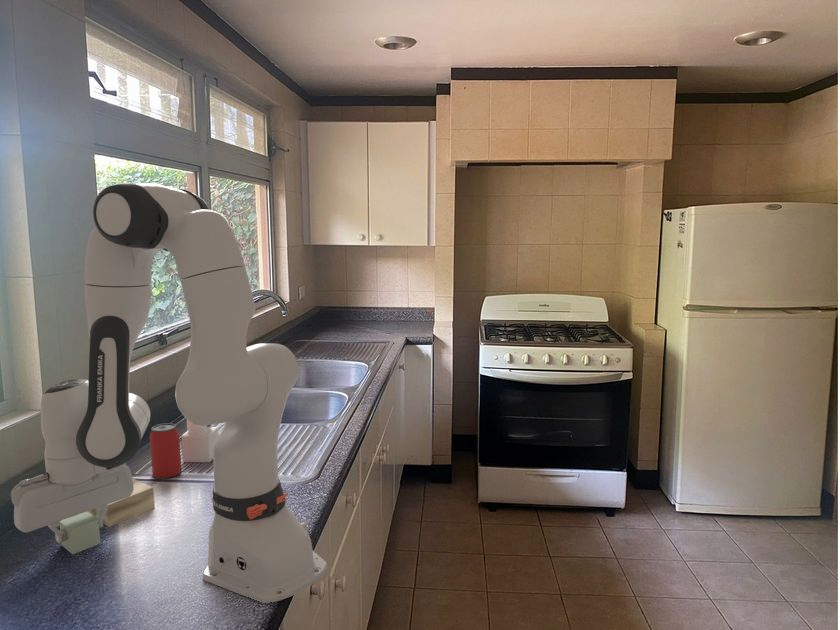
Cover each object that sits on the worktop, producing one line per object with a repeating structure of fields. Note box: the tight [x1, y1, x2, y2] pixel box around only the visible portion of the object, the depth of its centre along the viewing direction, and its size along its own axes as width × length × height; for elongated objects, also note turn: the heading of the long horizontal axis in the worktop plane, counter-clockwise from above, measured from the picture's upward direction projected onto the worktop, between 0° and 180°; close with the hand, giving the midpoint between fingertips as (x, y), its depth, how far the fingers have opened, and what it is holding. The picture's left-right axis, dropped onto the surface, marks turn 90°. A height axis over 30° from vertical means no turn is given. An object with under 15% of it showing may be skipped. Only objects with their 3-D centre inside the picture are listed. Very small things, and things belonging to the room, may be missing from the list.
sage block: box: [59, 512, 101, 555], centre depth 117 cm, size 5×5×5 cm
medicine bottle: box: [180, 419, 220, 463], centre depth 159 cm, size 7×7×12 cm
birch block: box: [87, 477, 156, 528], centre depth 131 cm, size 10×10×5 cm
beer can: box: [149, 422, 182, 480], centre depth 148 cm, size 7×7×12 cm
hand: (80, 533), depth 117 cm, fingers closed on sage block, 5 cm apart
